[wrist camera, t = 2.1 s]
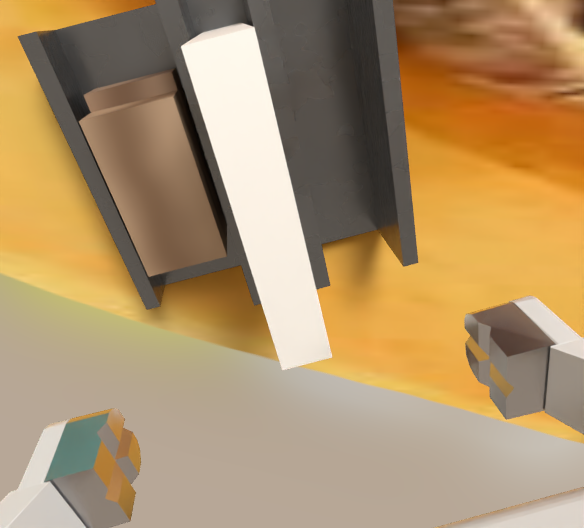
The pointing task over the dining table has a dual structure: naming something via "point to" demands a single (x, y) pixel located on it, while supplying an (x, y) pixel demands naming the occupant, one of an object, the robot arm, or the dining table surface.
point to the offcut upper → (157, 182)
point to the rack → (287, 106)
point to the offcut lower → (147, 89)
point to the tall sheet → (258, 186)
